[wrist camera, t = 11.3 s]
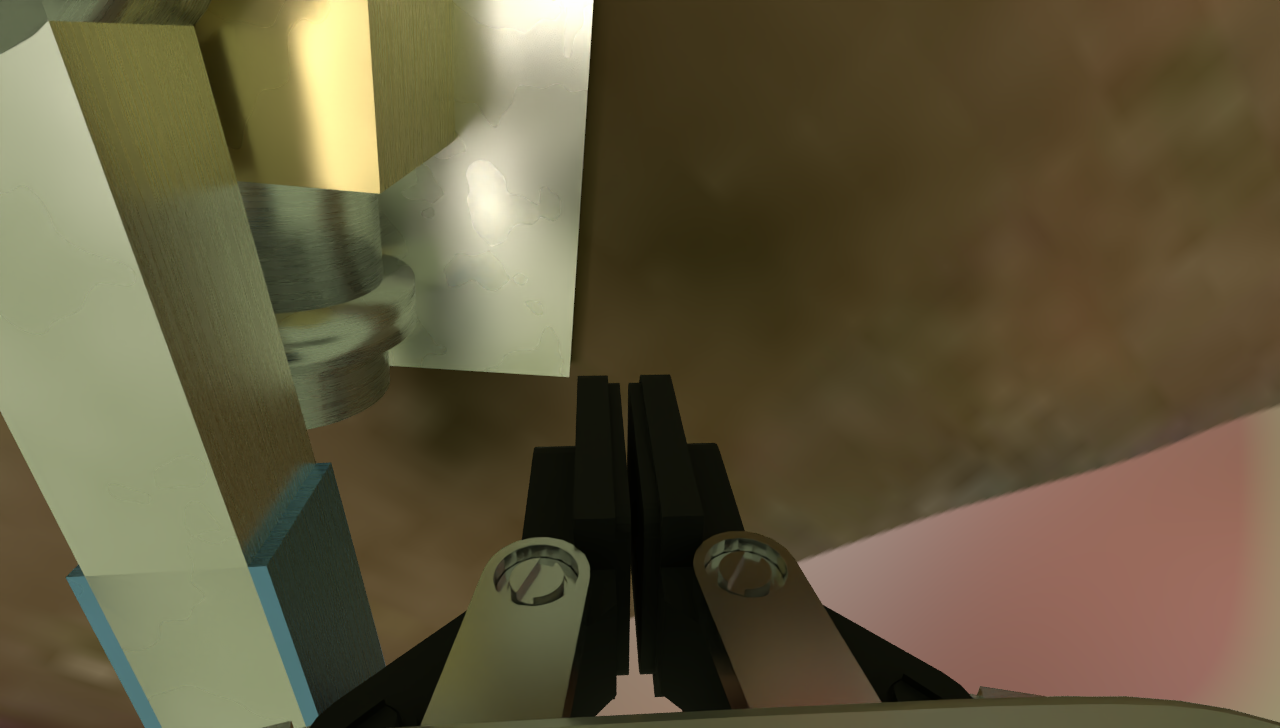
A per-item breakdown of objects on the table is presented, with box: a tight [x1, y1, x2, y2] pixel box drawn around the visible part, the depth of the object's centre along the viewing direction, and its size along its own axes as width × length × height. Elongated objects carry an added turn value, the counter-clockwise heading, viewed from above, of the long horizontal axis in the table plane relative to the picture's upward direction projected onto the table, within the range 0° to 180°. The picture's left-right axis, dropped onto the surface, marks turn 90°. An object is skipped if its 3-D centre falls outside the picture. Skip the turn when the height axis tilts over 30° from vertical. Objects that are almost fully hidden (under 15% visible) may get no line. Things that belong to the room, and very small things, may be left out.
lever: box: [0, 0, 386, 728], centre depth 11 cm, size 18×4×3 cm, turn 1°
